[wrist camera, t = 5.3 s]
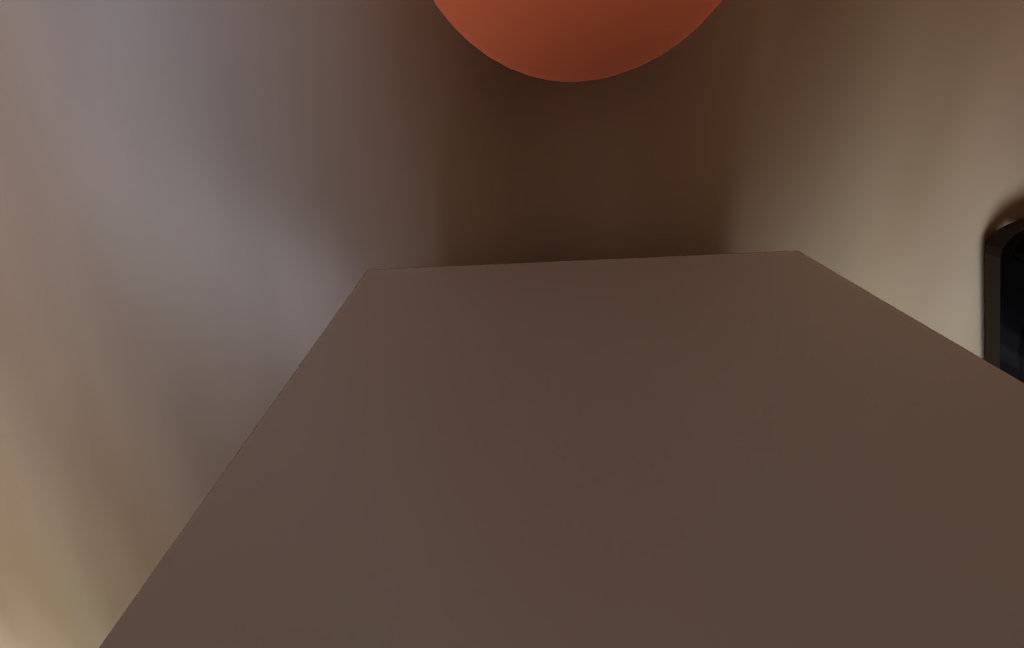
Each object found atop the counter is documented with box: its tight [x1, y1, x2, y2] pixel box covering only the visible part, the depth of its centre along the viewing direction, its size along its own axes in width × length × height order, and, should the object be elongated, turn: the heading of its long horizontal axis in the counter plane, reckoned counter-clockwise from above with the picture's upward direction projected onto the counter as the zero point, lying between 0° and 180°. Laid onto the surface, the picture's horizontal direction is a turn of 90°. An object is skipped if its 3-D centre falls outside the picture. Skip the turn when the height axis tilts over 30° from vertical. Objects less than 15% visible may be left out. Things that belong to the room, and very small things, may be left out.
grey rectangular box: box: [99, 251, 1024, 648], centre depth 7 cm, size 8×8×9 cm
